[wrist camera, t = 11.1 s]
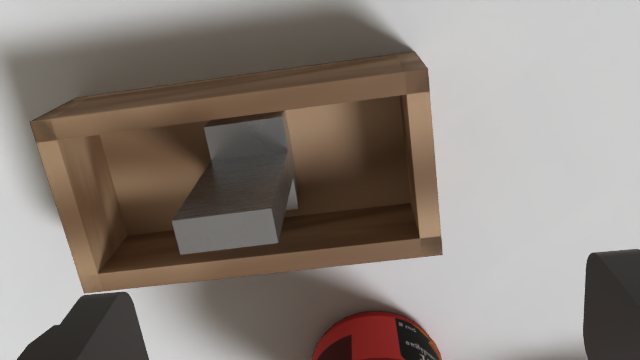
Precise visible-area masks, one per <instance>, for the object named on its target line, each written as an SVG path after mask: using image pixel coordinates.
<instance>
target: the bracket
mask: <svg viewBox="0 0 640 360" xmlns="http://www.w3.org/2000/svg"><path fill="white" fill-rule="evenodd" d="M204 130H205V135H206V139H207V143H208V148H209V152H210V157H211V162H210V163H209V165H208V166H207V168H206V169H205V171H204V172H203V174H202V175H201V177H200V178H199V180H198V181H197V183H196V184H195V186H194V188H193V189H192V191H191V192H190V194H189V195H188V197H187V198H186V200H185V201H184V203H183V204H182V206H181V207H180V209H179V211H178V212H177V214H176V215H175V217H174V218H173V220H172V224H173V228H174V232H175V236H176V240H177V243H178V247H179V251H180V255H182V254H190V253H199V252H207V251H215V250H224V249H232V248H241V247H249V246H257V245H266V244H274V243H278V241H279V237H280V233H281V228H282V224H283V220H284V215H285V211H286V210H292V209H299V204H300V192H299V186H298V180H297V175H296V169H295V163H294V157H293V152H292V146H291V140H290V134H289V129H288V123H287V117H286V111H285V110H284V111H277V112H269V113H261V114H254V115H246V116H238V117H231V118H223V119H215V120H210V121H209V122H208V123H207V124H206V126H205V127H204Z"/></svg>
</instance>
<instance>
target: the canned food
mask: <svg viewBox="0 0 640 360" xmlns="http://www.w3.org/2000/svg"><path fill="white" fill-rule="evenodd" d="M312 360H442V359H441V355H440V352H439V350H438V348H437V346H436V344H435V343H434V341H433V340H432V339H431V338H430V337H429V335H428V334H427V333H426V332H425V331H424V330H423V329H422V328H421V327H420V326H419V325H417V324H416V323H415V322H413V321H411V320H409V319H407V318H405V317H403V316H400V315H397V314H393V313H388V312H364V313H359V314H355V315H352V316H349V317H347V318H344V319H343V320H341V321H339V322H337V323H336V324H334V325H333V326H332V327H331V328H330V329H329V330H328V331H327V332H326V333H325V334H324V336H323V337H322V338H321V340H320V341H319V343H318V345H317V346H316V349H315V351H314V353H313V356H312Z"/></svg>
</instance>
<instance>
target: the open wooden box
mask: <svg viewBox="0 0 640 360" xmlns="http://www.w3.org/2000/svg"><path fill="white" fill-rule="evenodd" d="M284 110H285V111H286V117H287V123H288V129H289V134H290V140H291V146H292V152H293V157H294V163H295V169H296V175H297V180H298V186H299V192H300V204H299V209H292V210H286V211H285V215H284V220H283V224H282V228H281V233H280V237H279V241H278V243H274V244H266V245H257V246H249V247H241V248H232V249H224V250H215V251H207V252H199V253H190V254H182V255H180V251H179V247H178V243H177V240H176V236H175V232H174V228H173V224H172V220H173V218H174V217H175V215H176V214H177V212H178V211H179V209H180V207H181V206H182V204H183V203H184V201H185V200H186V198H187V197H188V195H189V194H190V192H191V191H192V189H193V188H194V186H195V184H196V183H197V181H198V180H199V178H200V177H201V175H202V174H203V172H204V171H205V169H206V168H207V166H208V165H209V163H210V162H211V157H210V152H209V148H208V143H207V139H206V135H205V130H204V127H205V126H206V124H207V123H208V122H209V121H210V120H215V119H223V118H231V117H238V116H246V115H254V114H261V113H269V112H277V111H284ZM30 125H31V128H32V131H33V134H34V137H35V140H36V144H37V147H38V150H39V153H40V156H41V159H42V162H43V166H44V169H45V172H46V175H47V178H48V181H49V184H50V188H51V191H52V194H53V197H54V200H55V203H56V206H57V210H58V213H59V216H60V219H61V222H62V225H63V228H64V232H65V235H66V238H67V241H68V244H69V247H70V250H71V254H72V257H73V260H74V263H75V266H76V269H77V273H78V276H79V279H80V282H81V285H82V288H83V291H84V293H92V292H101V291H111V290H120V289H129V288H139V287H148V286H157V285H167V284H176V283H185V282H194V281H204V280H213V279H222V278H232V277H241V276H250V275H259V274H269V273H278V272H287V271H297V270H306V269H315V268H325V267H334V266H343V265H352V264H362V263H371V262H380V261H390V260H399V259H408V258H417V257H427V256H436V255H443V254H442V241H441V229H440V216H439V204H438V191H437V178H436V166H435V153H434V141H433V128H432V115H431V103H430V90H429V78H428V68H427V67H426V66H425V64H424V63H423V62H422V60H421V59H420V58H419V56H418V55H417V54H416V52H408V53H400V54H393V55H386V56H378V57H371V58H364V59H356V60H349V61H342V62H334V63H327V64H320V65H312V66H305V67H298V68H290V69H283V70H276V71H268V72H261V73H254V74H246V75H239V76H232V77H224V78H217V79H210V80H202V81H195V82H188V83H180V84H173V85H166V86H158V87H151V88H144V89H136V90H129V91H122V92H114V93H107V94H100V95H92V96H85V97H78V98H74V99H73V100H71V101H69V102H67V103H65V104H63V105H61V106H59V107H57V108H55V109H53V110H52V111H50V112H48V113H46V114H44V115H42V116H40V117H38V118H36V119H34V120H32V121H31V122H30Z"/></svg>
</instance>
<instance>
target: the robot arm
mask: <svg viewBox="0 0 640 360" xmlns="http://www.w3.org/2000/svg"><path fill="white" fill-rule="evenodd" d="M583 337H584V345H585V350H586V354H587V357H588V360H640V250H639V249H631V250H620V251H608V252H596V253H591V254H590V255H589V257H588V259H587V264H586V281H585V301H584V322H583ZM17 360H149V358H148V354H147V351H146V347H145V344H144V340H143V336H142V333H141V329H140V325H139V322H138V318H137V315H136V311H135V307H134V304H133V301H132V299H131V297H130V295H129V294H128V293H126V292H115V293H104V294H92V295H84V296H82V297H80V298H79V300H78V301H77V302H76V304H75V305H74V306H73V308H72V309H71V310H70V312H69V313H68V314H67V316H66V317H65V318H64V320H63V321H62V322H61V324H60V325H54V326H53V327H51V328H50V329H49V330H47V331H46V332H45V333H43V334H42V335H41V336H39V337H38V338H37V339H35V340H34V341H33V342H31V343H30V344H29V345H28V346H27V347H26V348H25V350H24V351H23V352H22V353H21V355H20V356H19V357H18V359H17Z"/></svg>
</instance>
